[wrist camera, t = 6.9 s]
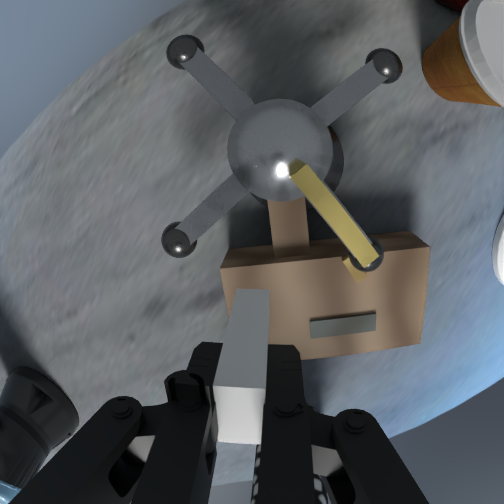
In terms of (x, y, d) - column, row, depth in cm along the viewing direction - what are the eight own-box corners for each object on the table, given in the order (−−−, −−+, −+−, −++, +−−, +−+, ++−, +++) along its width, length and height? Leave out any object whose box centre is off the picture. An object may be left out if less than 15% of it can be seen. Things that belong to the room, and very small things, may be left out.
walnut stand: (243, 336, 35) (237, 368, 29) (218, 187, 30) (205, 198, 24) (405, 318, 33) (422, 346, 27) (408, 170, 27) (433, 177, 22)
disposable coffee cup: (463, 25, 21) (529, -7, 10) (494, 108, 24) (571, 107, 13) (391, 35, 23) (446, -11, 12) (427, 126, 26) (500, 125, 15)
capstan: (120, 145, 29) (49, 152, 18) (287, -5, 23) (289, -70, 12) (268, 303, 33) (262, 376, 22) (435, 168, 27) (504, 186, 16)
